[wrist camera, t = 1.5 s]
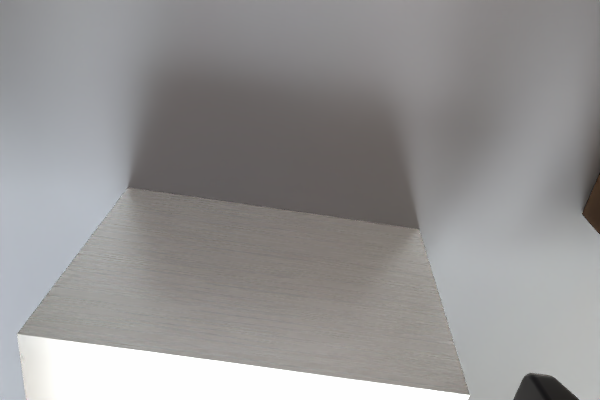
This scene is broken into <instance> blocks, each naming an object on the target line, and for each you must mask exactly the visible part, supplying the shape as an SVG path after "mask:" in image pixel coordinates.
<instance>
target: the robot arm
mask: <svg viewBox="0 0 600 400" xmlns="http://www.w3.org/2000/svg"><path fill="white" fill-rule="evenodd" d="M513 400H579V399H578V398H577V397H576V396H575V395H573V394H572V393H571V392H570V391H569V390H568V389H567V388H566V387H564V386H563V385H562V384H561V383H560V382H559V381H558V380H557V379H555V378H554V377H552V376H549V375H543V374H535V373H529V374H526V375H525V376H524V378H523V379H522V382H521V384H520V386H519V388H518V391H517V393H516V395H515V397H514V399H513Z"/></svg>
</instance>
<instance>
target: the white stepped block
mask: <svg viewBox="0 0 600 400" xmlns="http://www.w3.org/2000/svg"><path fill="white" fill-rule="evenodd" d="M17 339H18V346H19V353H20V360H21V367H22V374H23V381H24V388H25V395H26V400H468V399H469V396H470V394H469V391H468V387H467V384H466V381H465V377H464V374H463V371H462V368H461V364H460V361H459V358H458V354H457V351H456V348H455V345H454V341H453V338H452V335H451V332H450V328H449V325H448V322H447V318H446V315H445V312H444V309H443V305H442V302H441V299H440V296H439V292H438V289H437V286H436V282H435V279H434V276H433V273H432V269H431V266H430V263H429V259H428V256H427V253H426V250H425V246H424V243H423V240H422V237H421V233H420V230H419V229H415V228H408V227H402V226H395V225H388V224H381V223H374V222H367V221H360V220H353V219H346V218H339V217H332V216H325V215H318V214H311V213H304V212H297V211H290V210H283V209H276V208H269V207H262V206H255V205H248V204H241V203H234V202H227V201H220V200H213V199H206V198H199V197H192V196H185V195H178V194H171V193H164V192H157V191H150V190H143V189H136V188H129V187H128V188H127V189H126V190H125V192H124V193H123V194H122V196H121V197H120V198H119V200H118V201H117V202H116V204H115V205H114V206H113V208H112V209H111V210H110V212H109V213H108V214H107V215H106V217H105V218H104V219H103V221H102V222H101V223H100V225H99V226H98V227H97V229H96V230H95V231H94V233H93V234H92V235H91V237H90V238H89V239H88V241H87V242H86V243H85V245H84V246H83V247H82V249H81V250H80V251H79V252H78V254H77V255H76V256H75V258H74V259H73V260H72V262H71V263H70V264H69V266H68V267H67V268H66V270H65V271H64V272H63V274H62V275H61V276H60V278H59V279H58V280H57V282H56V283H55V284H54V286H53V287H52V288H51V289H50V291H49V292H48V293H47V295H46V296H45V297H44V299H43V300H42V301H41V303H40V304H39V305H38V307H37V308H36V309H35V311H34V312H33V313H32V315H31V316H30V317H29V319H28V320H27V321H26V323H25V324H24V325H23V326H22V328H21V329H20V330H19V332H18V333H17Z"/></svg>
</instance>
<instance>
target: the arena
mask: <svg viewBox="0 0 600 400" xmlns="http://www.w3.org/2000/svg"><path fill="white" fill-rule="evenodd" d="M582 215H583V216H584V217H585V218H586V219H587V220H588V222H589V223H590V224H591V225H592V226H593V227H594V228H595V230H596V231H597V232H598V233H599V234H600V174H599V176H598V178H597V181H596V183H595V185H594V188H593V190H592V192H591V195H590V197H589V199H588V201H587V204H586V206H585V208H584V211H583V213H582Z"/></svg>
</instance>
